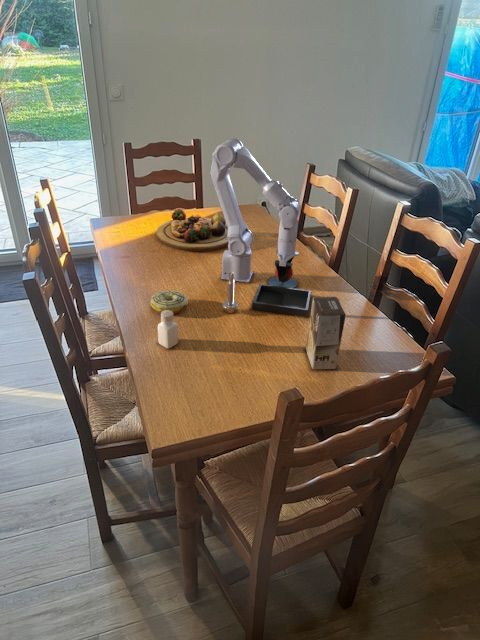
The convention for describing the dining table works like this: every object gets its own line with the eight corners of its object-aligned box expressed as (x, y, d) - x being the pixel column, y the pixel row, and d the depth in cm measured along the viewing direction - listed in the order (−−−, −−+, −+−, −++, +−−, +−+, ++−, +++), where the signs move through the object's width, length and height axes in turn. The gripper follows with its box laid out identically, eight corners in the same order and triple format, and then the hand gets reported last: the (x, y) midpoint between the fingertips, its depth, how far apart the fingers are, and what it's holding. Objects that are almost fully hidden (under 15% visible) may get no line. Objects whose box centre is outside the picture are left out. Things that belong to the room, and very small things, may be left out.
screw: (240, 314, 139) (224, 315, 137) (235, 306, 142) (220, 307, 141) (241, 274, 132) (225, 276, 130) (237, 267, 135) (221, 268, 134)
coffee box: (336, 369, 118) (347, 315, 109) (311, 370, 117) (320, 315, 109) (327, 348, 126) (337, 296, 117) (304, 348, 125) (311, 296, 116)
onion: (290, 287, 153) (293, 265, 149) (273, 285, 154) (275, 263, 150) (292, 279, 158) (295, 258, 154) (275, 277, 159) (277, 255, 155)
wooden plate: (147, 227, 194) (145, 207, 190) (217, 218, 206) (218, 200, 202) (170, 257, 170) (170, 236, 165) (249, 245, 182) (250, 225, 177)
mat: (266, 288, 153) (266, 287, 153) (270, 275, 161) (270, 274, 161) (295, 292, 151) (295, 291, 151) (298, 279, 159) (298, 278, 159)
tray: (252, 309, 141) (252, 302, 140) (259, 290, 152) (259, 283, 150) (306, 317, 139) (307, 310, 137) (310, 297, 149) (311, 290, 148)
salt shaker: (168, 337, 127) (167, 307, 122) (179, 343, 125) (178, 313, 119) (157, 344, 124) (155, 313, 119) (168, 350, 122) (166, 319, 117)
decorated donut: (194, 307, 141) (194, 296, 139) (166, 320, 134) (166, 309, 132) (171, 295, 146) (171, 284, 144) (144, 307, 140) (143, 296, 138)
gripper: (297, 249, 141) (292, 288, 148) (302, 231, 153) (297, 269, 160) (274, 246, 142) (271, 285, 149) (280, 229, 154) (277, 266, 161)
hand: (283, 277), depth 155 cm, fingers closed on onion, 6 cm apart
